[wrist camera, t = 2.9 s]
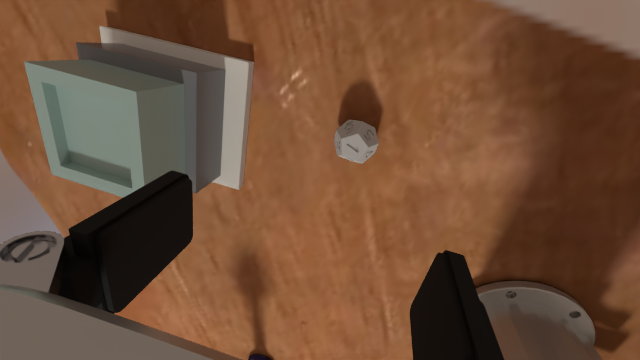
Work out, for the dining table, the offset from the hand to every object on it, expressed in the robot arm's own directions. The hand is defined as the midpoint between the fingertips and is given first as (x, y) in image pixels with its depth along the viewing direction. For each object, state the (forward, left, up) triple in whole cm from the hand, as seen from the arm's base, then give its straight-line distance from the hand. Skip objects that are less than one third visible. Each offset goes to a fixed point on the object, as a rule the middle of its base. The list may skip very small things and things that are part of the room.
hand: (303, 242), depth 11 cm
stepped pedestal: (+17, +2, -16) cm, 23 cm away
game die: (0, 0, -16) cm, 16 cm away
